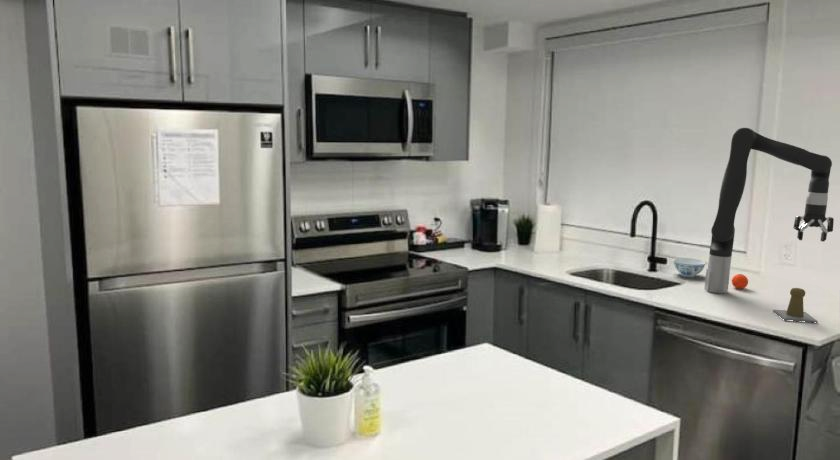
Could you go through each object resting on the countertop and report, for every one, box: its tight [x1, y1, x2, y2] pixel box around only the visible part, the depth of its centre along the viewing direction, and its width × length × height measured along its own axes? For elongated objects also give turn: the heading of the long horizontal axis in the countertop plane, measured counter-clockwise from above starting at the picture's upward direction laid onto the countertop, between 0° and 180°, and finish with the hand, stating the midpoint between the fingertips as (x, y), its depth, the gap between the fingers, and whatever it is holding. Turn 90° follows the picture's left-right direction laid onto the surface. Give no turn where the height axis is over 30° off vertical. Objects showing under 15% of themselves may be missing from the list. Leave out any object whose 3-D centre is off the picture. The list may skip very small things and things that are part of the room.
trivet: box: [772, 309, 818, 324], centre depth 244 cm, size 12×12×1 cm
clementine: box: [731, 273, 749, 290], centre depth 286 cm, size 8×7×7 cm
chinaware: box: [672, 257, 707, 278], centre depth 308 cm, size 15×15×8 cm
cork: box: [786, 287, 806, 317], centre depth 243 cm, size 6×6×11 cm
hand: (811, 240), depth 258 cm, fingers open, 8 cm apart
